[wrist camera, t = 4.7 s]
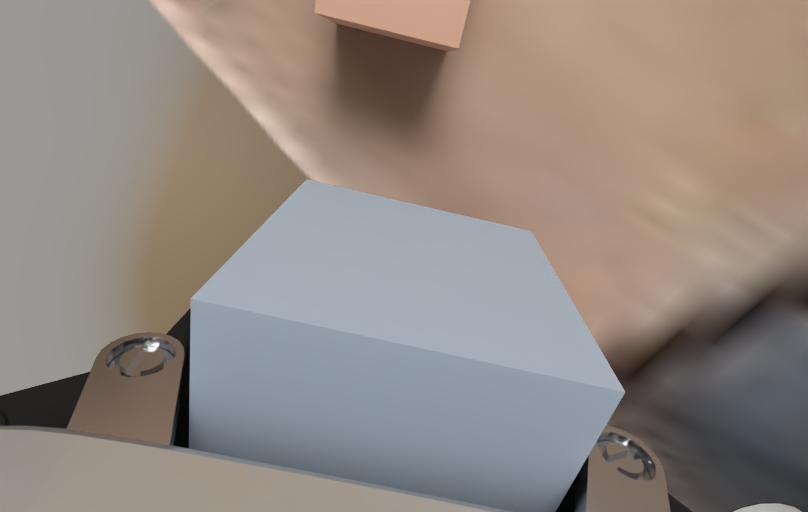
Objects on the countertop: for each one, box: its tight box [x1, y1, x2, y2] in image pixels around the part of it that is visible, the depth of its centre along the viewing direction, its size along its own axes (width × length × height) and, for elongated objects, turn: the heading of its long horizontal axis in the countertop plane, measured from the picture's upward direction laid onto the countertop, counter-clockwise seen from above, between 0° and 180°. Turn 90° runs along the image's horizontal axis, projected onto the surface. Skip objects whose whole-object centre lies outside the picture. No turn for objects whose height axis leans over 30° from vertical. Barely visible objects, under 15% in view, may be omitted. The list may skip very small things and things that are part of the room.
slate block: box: [189, 179, 625, 512], centre depth 10 cm, size 6×6×6 cm
